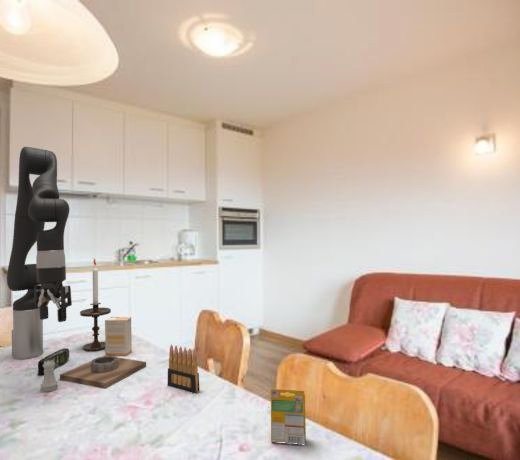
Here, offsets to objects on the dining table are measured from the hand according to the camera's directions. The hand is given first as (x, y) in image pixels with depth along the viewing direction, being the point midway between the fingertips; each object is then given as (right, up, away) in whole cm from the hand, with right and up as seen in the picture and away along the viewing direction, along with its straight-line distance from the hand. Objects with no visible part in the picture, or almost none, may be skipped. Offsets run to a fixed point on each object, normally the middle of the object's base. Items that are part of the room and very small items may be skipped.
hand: (53, 320), depth 109 cm
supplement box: (+9, -19, +27) cm, 34 cm away
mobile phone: (-7, -19, +14) cm, 25 cm away
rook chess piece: (+1, -19, -3) cm, 20 cm away
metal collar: (+12, -17, +9) cm, 23 cm away
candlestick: (-2, -19, +33) cm, 39 cm away
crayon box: (+68, -19, -29) cm, 76 cm away
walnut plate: (+12, -19, +9) cm, 24 cm away
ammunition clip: (+39, -19, -3) cm, 44 cm away
